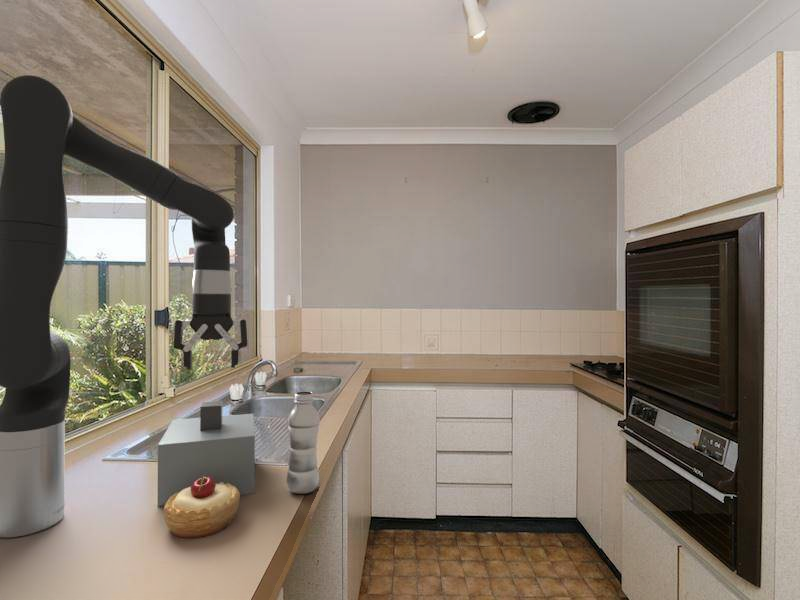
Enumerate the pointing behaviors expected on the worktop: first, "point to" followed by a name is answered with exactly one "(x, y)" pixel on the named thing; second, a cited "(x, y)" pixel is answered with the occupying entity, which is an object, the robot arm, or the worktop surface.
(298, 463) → the plastic bottle
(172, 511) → the pastry
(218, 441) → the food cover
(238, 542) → the worktop surface
